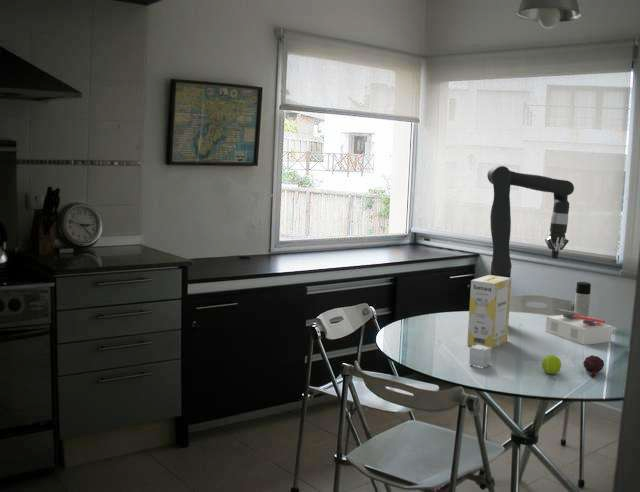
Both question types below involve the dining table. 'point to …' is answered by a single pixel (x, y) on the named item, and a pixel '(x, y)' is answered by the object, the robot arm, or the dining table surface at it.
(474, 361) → the skincare box
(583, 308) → the spray can
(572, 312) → the rocker
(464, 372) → the dining table surface
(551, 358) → the tennis ball
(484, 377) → the dining table surface
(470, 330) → the pasta box
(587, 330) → the power strip
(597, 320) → the rocker
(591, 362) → the icecream
